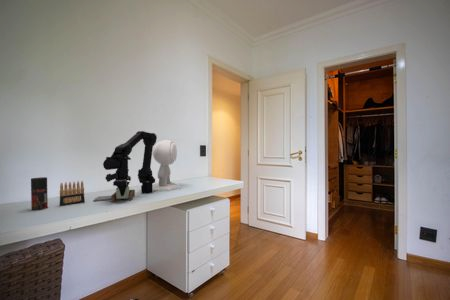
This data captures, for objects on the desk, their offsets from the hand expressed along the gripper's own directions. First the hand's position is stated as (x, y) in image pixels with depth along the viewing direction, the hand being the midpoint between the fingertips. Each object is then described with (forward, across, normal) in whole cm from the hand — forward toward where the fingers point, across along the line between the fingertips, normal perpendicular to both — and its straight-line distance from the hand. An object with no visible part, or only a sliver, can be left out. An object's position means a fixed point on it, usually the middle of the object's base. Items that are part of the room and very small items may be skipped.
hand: (123, 195), depth 121 cm
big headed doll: (+3, -29, +23) cm, 37 cm away
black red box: (+2, +8, -36) cm, 37 cm away
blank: (+1, 0, 0) cm, 1 cm away
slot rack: (+2, -2, 0) cm, 3 cm away
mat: (+2, -4, -10) cm, 12 cm away
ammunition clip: (+3, +2, -24) cm, 24 cm away
